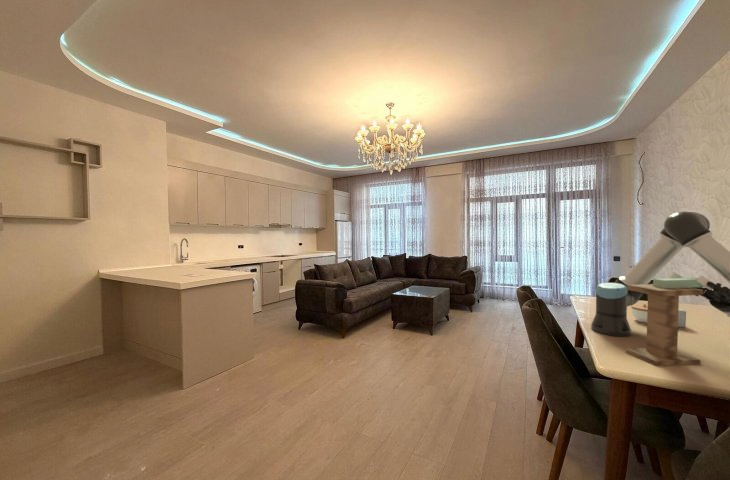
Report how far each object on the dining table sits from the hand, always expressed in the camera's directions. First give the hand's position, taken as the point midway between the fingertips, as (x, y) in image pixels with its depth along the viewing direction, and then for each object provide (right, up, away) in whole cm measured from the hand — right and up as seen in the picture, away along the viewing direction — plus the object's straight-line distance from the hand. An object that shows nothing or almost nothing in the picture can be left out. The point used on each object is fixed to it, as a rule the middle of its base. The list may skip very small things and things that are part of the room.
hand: (685, 276), depth 114 cm
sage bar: (-2, -4, 0) cm, 4 cm away
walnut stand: (-9, -32, 0) cm, 33 cm away
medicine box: (+36, -31, +38) cm, 61 cm away
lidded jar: (+28, -30, +45) cm, 61 cm away
